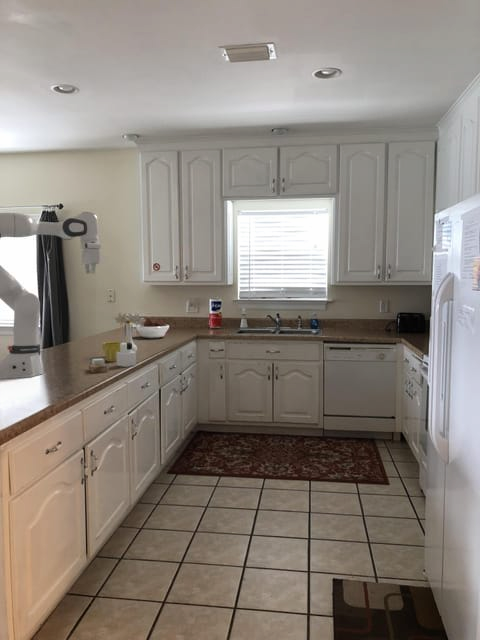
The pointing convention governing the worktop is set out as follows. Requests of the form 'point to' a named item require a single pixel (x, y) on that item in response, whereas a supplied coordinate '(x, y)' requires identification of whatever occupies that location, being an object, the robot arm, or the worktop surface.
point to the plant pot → (111, 350)
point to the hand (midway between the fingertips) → (90, 273)
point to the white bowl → (153, 328)
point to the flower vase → (130, 326)
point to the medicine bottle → (126, 355)
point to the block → (97, 368)
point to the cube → (98, 361)
